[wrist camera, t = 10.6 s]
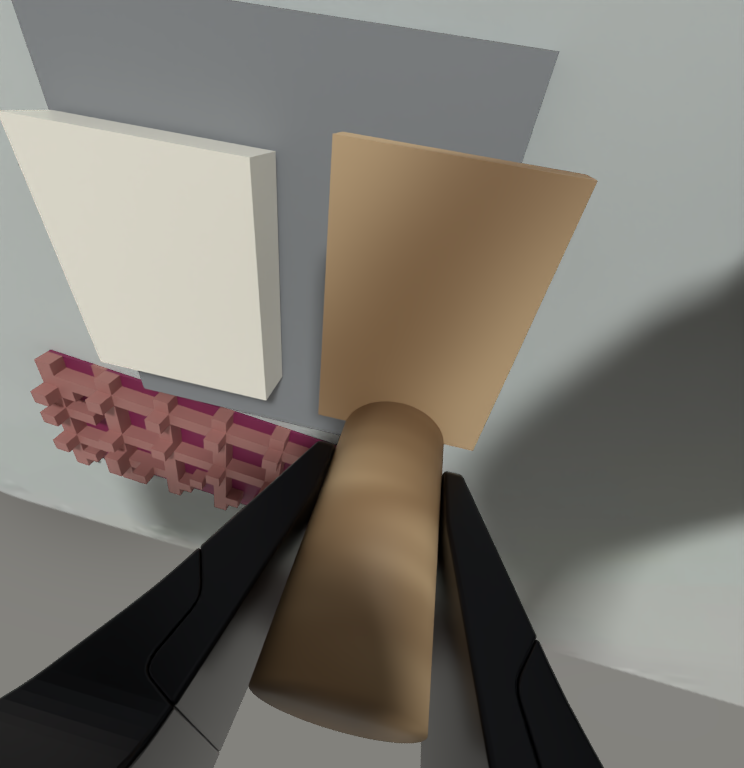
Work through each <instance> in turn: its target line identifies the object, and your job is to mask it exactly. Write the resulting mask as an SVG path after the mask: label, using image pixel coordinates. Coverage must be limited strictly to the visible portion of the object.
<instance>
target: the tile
mask: <svg viewBox="0 0 744 768" xmlns="http://www.w3.org/2000/svg"><path fill="white" fill-rule="evenodd" d="M0 120H1V122H2V124H3V127H4V129H5V132H6V134H7V137H8V139H9V141H10V144H11V146H12V149H13V151H14V153H15V156H16V158H17V161H18V163H19V165H20V168H21V170H22V173H23V175H24V178H25V180H26V182H27V185H28V187H29V190H30V192H31V194H32V197H33V199H34V202H35V204H36V206H37V209H38V211H39V214H40V216H41V218H42V221H43V223H44V226H45V228H46V231H47V233H48V235H49V238H50V240H51V243H52V245H53V247H54V250H55V252H56V255H57V257H58V259H59V262H60V264H61V267H62V269H63V272H64V274H65V276H66V279H67V281H68V284H69V286H70V288H71V291H72V293H73V296H74V298H75V300H76V303H77V305H78V308H79V310H80V312H81V315H82V317H83V320H84V322H85V325H86V327H87V329H88V332H89V334H90V337H91V339H92V341H93V344H94V346H95V349H96V351H97V353H98V356H99V358H100V361H101V362H104V363H108V364H113V365H117V366H121V367H125V368H130V369H134V370H138V371H142V372H147V373H151V374H155V375H159V376H164V377H168V378H172V379H176V380H181V381H185V382H189V383H193V384H198V385H202V386H206V387H210V388H215V389H219V390H223V391H227V392H232V393H236V394H240V395H244V396H249V397H253V398H257V399H261V400H267V399H268V397H269V396H270V394H271V393H272V391H273V390H274V388H275V387H276V385H277V384H278V382H279V381H280V379H281V378H282V350H281V316H280V283H279V250H278V217H277V183H276V151H271V150H266V149H261V148H255V147H250V146H244V145H239V144H234V143H228V142H223V141H217V140H212V139H207V138H201V137H196V136H190V135H185V134H180V133H174V132H169V131H163V130H158V129H153V128H147V127H142V126H136V125H131V124H126V123H120V122H115V121H109V120H104V119H98V118H93V117H88V116H82V115H77V114H71V113H66V112H61V111H55V110H0Z"/></svg>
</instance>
